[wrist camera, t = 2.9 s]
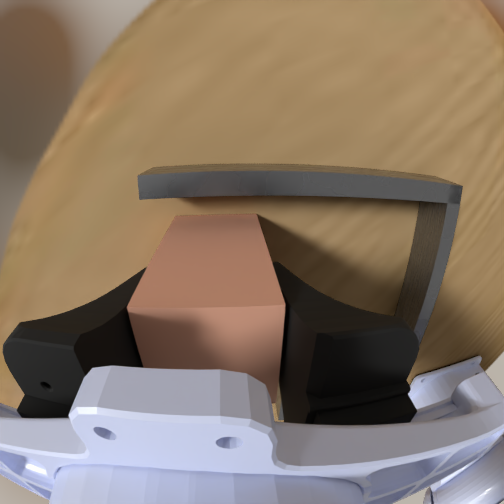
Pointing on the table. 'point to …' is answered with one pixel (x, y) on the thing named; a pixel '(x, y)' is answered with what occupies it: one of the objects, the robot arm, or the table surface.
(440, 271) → the channel rails
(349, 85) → the table surface
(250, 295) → the terracotta block
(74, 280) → the table surface
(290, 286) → the robot arm
